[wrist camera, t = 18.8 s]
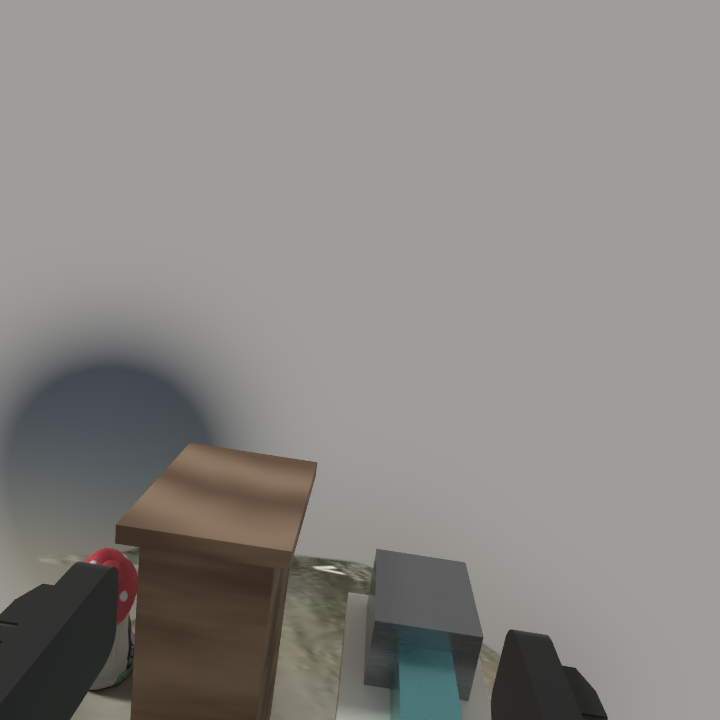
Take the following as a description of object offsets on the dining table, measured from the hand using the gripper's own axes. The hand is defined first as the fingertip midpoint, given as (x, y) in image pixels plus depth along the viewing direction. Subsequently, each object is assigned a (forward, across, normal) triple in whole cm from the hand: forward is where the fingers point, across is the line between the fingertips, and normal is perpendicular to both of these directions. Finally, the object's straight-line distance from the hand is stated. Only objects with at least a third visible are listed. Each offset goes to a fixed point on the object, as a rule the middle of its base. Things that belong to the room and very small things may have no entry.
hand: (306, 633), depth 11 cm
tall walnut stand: (+24, +7, +42) cm, 49 cm away
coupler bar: (+19, -7, +21) cm, 29 cm away
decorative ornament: (+39, +23, +42) cm, 62 cm away
